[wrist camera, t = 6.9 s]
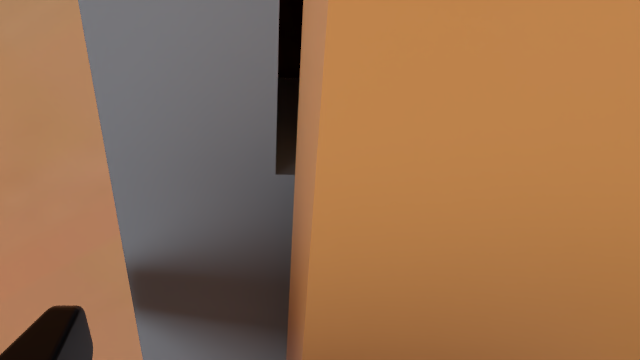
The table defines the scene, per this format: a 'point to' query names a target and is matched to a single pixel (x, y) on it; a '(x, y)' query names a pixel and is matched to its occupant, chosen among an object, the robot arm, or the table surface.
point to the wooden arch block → (467, 181)
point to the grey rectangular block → (199, 170)
